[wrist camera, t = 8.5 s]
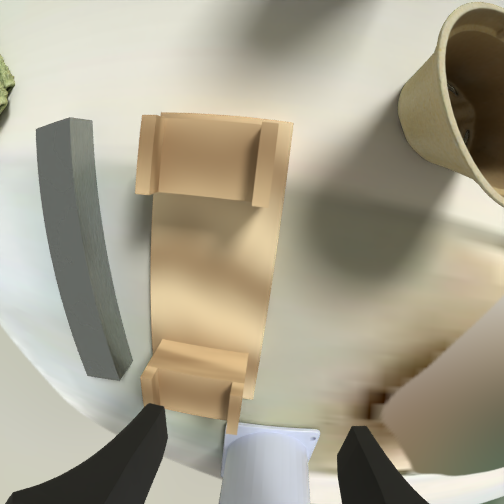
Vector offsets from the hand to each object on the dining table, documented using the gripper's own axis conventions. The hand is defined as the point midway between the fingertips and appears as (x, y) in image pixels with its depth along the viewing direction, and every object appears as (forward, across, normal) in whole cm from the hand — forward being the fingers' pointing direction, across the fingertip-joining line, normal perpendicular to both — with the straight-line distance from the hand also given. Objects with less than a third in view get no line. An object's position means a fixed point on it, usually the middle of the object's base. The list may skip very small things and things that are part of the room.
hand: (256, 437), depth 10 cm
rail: (+11, +13, -2) cm, 17 cm away
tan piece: (+10, +4, -2) cm, 11 cm away
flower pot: (+11, -9, -14) cm, 20 cm away
